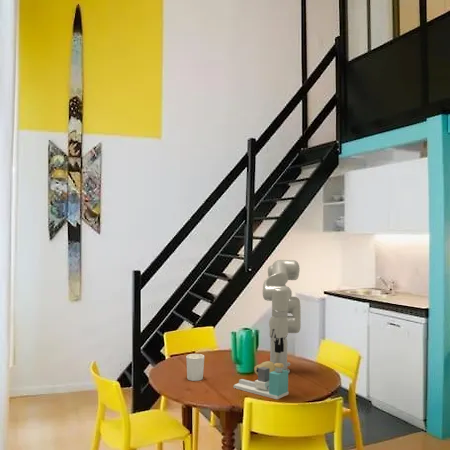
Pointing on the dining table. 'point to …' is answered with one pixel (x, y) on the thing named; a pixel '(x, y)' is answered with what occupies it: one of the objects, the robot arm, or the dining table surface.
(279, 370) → the gauge plunger
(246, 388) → the rail board
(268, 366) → the toy pig
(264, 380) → the carriage
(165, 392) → the dining table surface
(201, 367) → the candle holder
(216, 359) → the dining table surface
